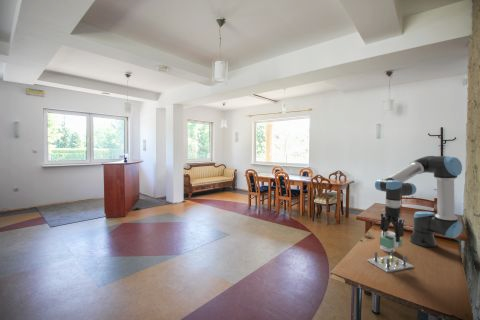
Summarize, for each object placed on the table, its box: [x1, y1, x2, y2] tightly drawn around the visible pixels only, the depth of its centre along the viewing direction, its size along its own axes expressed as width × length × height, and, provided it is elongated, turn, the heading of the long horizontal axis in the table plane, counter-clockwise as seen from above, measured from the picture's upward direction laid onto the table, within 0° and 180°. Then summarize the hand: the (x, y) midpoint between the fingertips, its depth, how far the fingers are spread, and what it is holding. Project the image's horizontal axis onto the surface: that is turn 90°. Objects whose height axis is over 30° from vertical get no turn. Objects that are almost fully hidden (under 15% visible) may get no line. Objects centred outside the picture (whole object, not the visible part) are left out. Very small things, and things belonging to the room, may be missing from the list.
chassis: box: [366, 250, 415, 274], centre depth 141 cm, size 20×14×6 cm
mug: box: [379, 230, 396, 253], centre depth 159 cm, size 12×8×12 cm
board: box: [379, 235, 403, 248], centre depth 140 cm, size 10×6×5 cm, turn 108°
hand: (390, 244), depth 140 cm, fingers closed on board, 6 cm apart
